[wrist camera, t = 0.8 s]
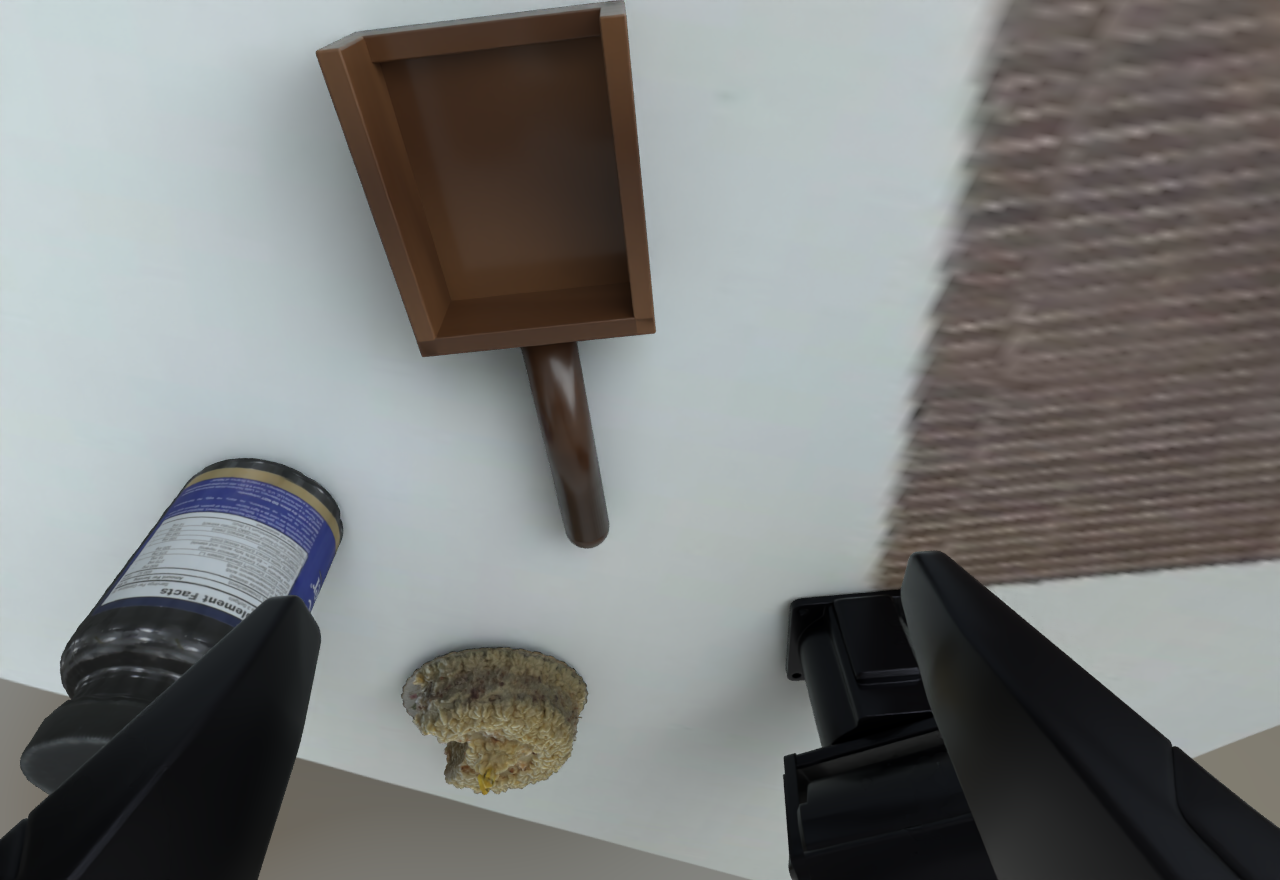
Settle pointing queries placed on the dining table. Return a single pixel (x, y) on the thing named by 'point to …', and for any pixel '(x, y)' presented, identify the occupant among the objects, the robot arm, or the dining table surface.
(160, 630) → the pill bottle
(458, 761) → the cake
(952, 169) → the dining table surface
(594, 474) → the scoop
